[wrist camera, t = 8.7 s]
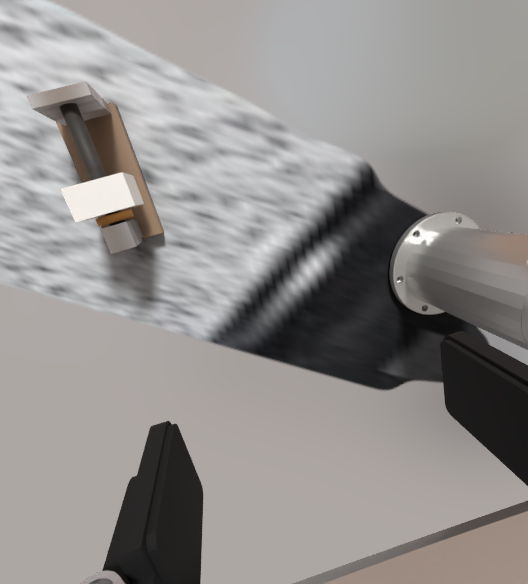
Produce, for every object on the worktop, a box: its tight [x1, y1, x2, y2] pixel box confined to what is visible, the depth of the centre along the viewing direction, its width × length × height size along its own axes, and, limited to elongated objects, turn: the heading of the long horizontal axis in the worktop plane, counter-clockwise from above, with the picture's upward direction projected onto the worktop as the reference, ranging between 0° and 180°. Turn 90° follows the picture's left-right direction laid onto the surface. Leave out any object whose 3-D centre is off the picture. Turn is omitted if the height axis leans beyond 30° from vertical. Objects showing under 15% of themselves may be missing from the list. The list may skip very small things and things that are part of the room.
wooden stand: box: [27, 82, 164, 254], centre depth 27 cm, size 5×12×8 cm, turn 15°
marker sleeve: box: [60, 172, 144, 222], centre depth 25 cm, size 4×2×4 cm, turn 105°
